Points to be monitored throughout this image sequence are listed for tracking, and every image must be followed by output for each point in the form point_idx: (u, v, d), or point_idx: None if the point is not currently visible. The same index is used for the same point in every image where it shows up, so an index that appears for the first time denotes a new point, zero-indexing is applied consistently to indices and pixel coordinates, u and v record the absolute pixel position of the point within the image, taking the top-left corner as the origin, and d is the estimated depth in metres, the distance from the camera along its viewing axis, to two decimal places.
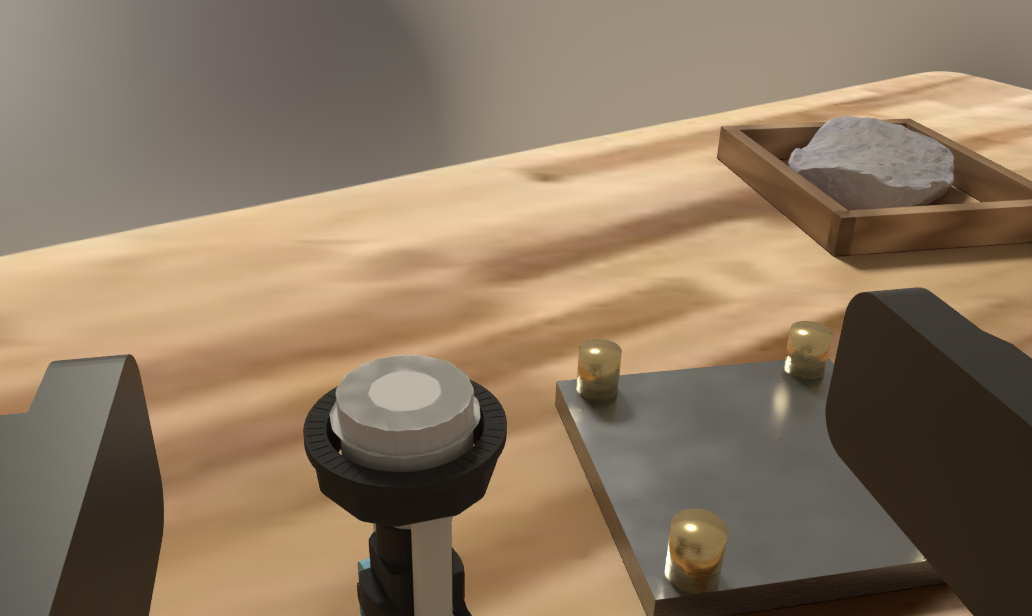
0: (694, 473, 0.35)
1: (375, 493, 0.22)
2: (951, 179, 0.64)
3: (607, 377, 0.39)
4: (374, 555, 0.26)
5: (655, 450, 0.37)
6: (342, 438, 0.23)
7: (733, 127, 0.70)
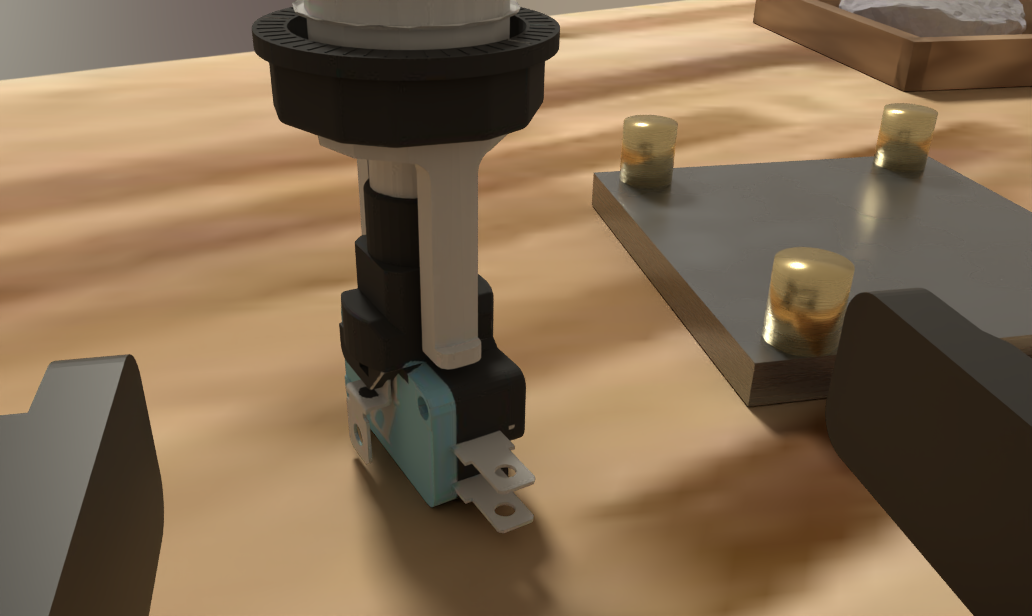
0: (783, 248, 0.27)
1: (361, 73, 0.14)
2: (1024, 24, 0.56)
3: (660, 155, 0.31)
4: (363, 259, 0.18)
5: (728, 228, 0.28)
6: (310, 18, 0.15)
7: None
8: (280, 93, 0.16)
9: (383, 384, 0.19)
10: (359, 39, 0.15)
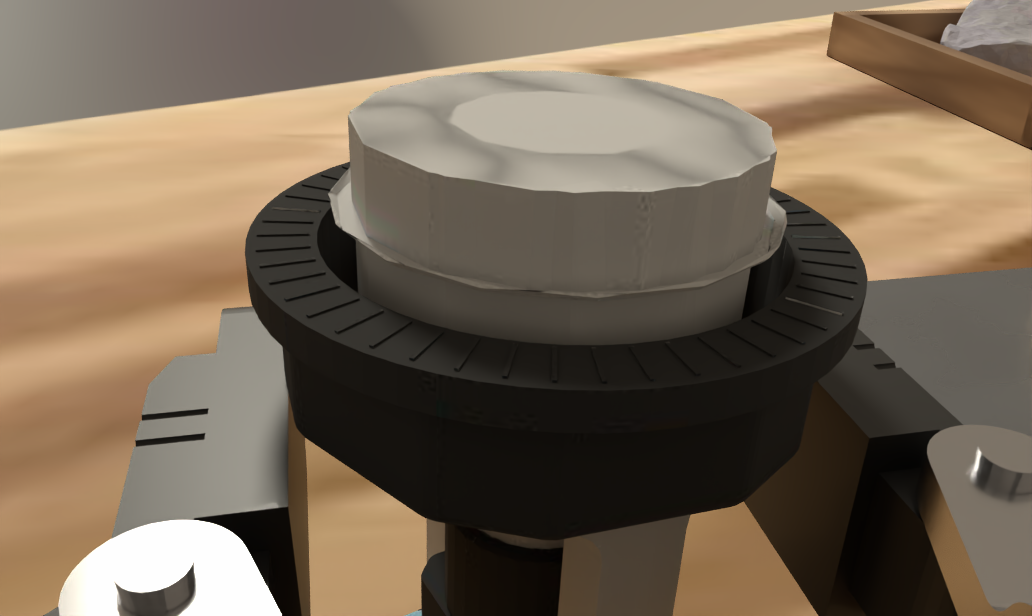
0: None
1: (494, 415, 0.06)
2: None
3: None
4: None
5: None
6: None
7: (850, 12, 0.54)
8: (301, 388, 0.07)
9: None
10: (479, 304, 0.07)
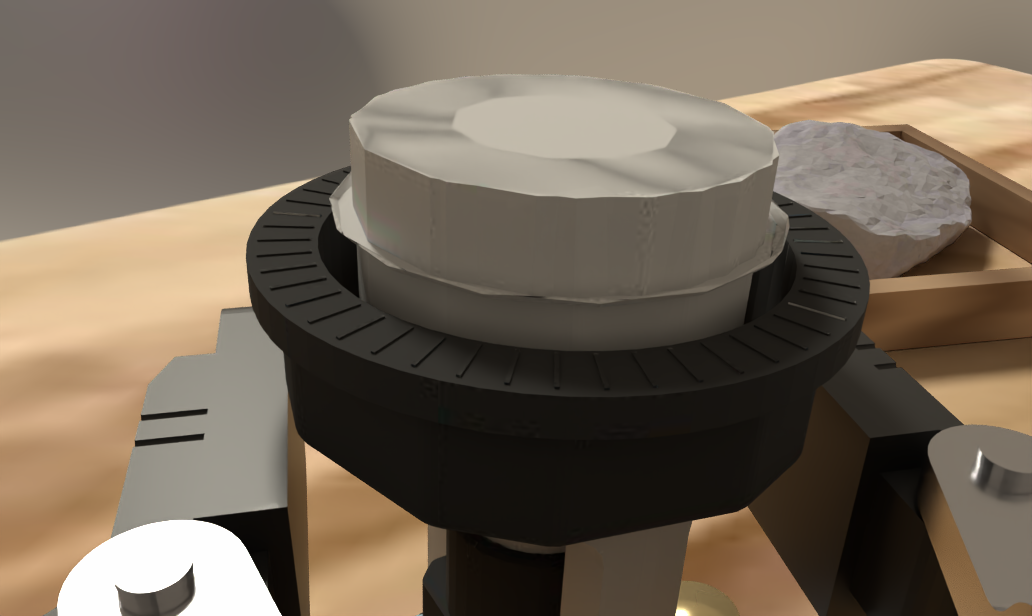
0: None
1: (497, 421, 0.06)
2: (968, 218, 0.41)
3: None
4: None
5: None
6: None
7: None
8: (302, 394, 0.07)
9: None
10: (481, 310, 0.07)
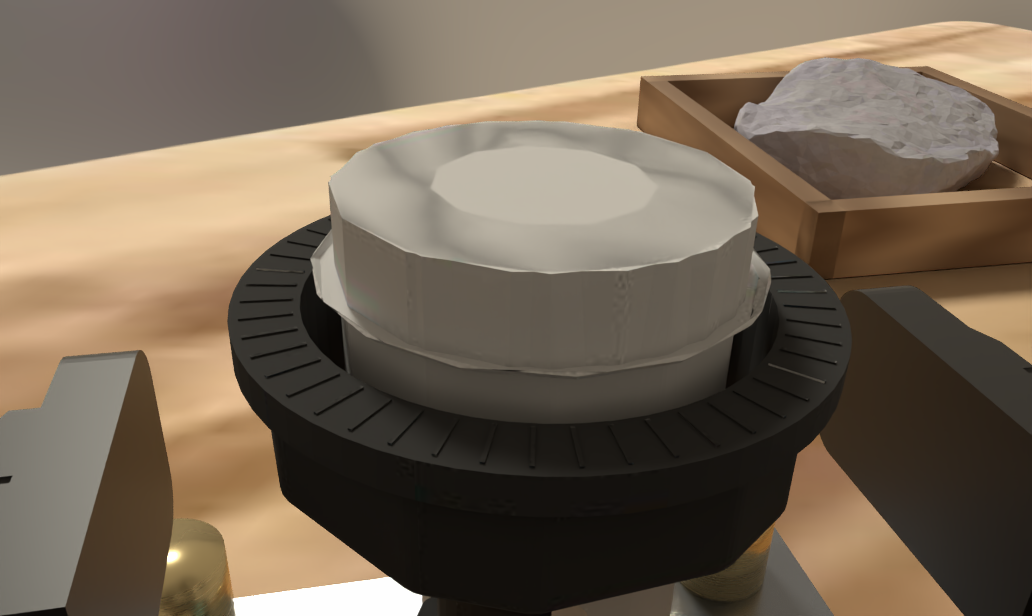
0: None
1: (474, 501, 0.06)
2: (995, 148, 0.40)
3: None
4: None
5: None
6: (350, 319, 0.07)
7: (659, 78, 0.46)
8: (285, 457, 0.07)
9: None
10: (459, 379, 0.07)
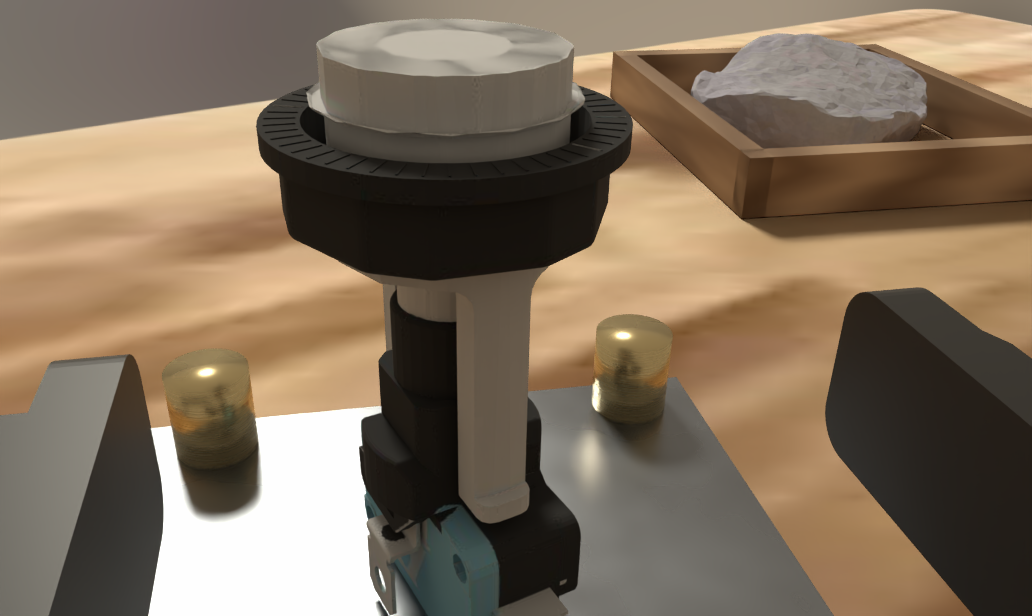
0: None
1: (392, 196, 0.11)
2: (923, 112, 0.45)
3: (213, 424, 0.20)
4: (389, 384, 0.15)
5: (257, 583, 0.17)
6: None
7: (629, 52, 0.51)
8: (291, 205, 0.13)
9: (410, 527, 0.16)
10: (389, 146, 0.12)
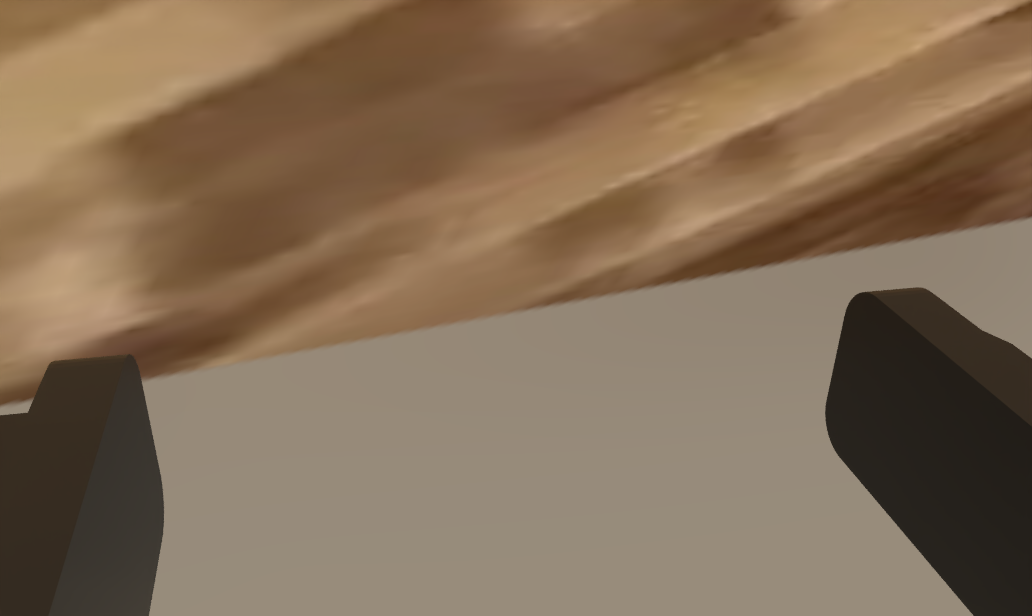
0: None
1: None
2: None
3: None
4: None
5: None
6: None
7: None
8: None
9: None
10: None
